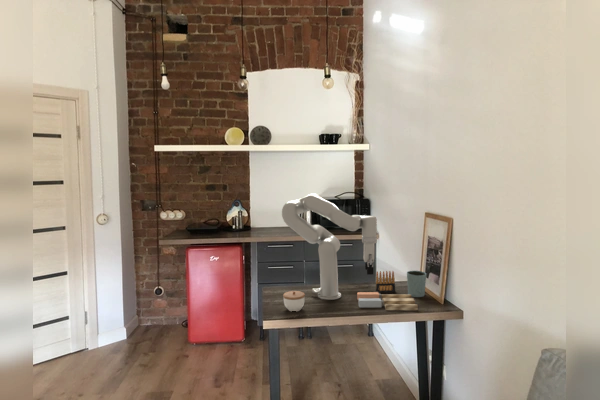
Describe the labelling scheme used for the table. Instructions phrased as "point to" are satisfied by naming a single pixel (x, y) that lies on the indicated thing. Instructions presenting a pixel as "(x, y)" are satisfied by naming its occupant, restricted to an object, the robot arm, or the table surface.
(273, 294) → the table surface
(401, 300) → the comb board
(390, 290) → the ammunition clip
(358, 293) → the tan wooden block
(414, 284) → the green plant pot
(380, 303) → the light grey rectangular bar
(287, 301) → the lidded jar
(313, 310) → the table surface
